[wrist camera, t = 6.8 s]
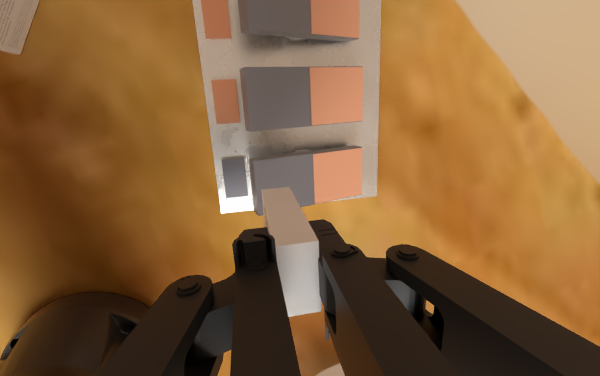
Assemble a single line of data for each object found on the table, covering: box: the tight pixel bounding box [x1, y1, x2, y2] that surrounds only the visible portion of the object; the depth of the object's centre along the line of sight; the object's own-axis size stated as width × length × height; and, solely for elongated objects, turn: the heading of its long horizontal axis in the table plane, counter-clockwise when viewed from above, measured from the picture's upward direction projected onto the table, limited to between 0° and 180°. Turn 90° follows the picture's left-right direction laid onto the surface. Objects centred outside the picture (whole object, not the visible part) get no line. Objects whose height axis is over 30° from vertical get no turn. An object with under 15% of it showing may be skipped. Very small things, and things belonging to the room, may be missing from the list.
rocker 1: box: [238, 0, 359, 42], centre depth 20 cm, size 9×4×2 cm, turn 92°
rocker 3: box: [249, 145, 362, 216], centre depth 24 cm, size 9×4×2 cm, turn 92°
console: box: [192, 0, 381, 214], centre depth 26 cm, size 14×18×5 cm
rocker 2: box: [240, 66, 363, 132], centre depth 22 cm, size 9×4×2 cm, turn 92°
